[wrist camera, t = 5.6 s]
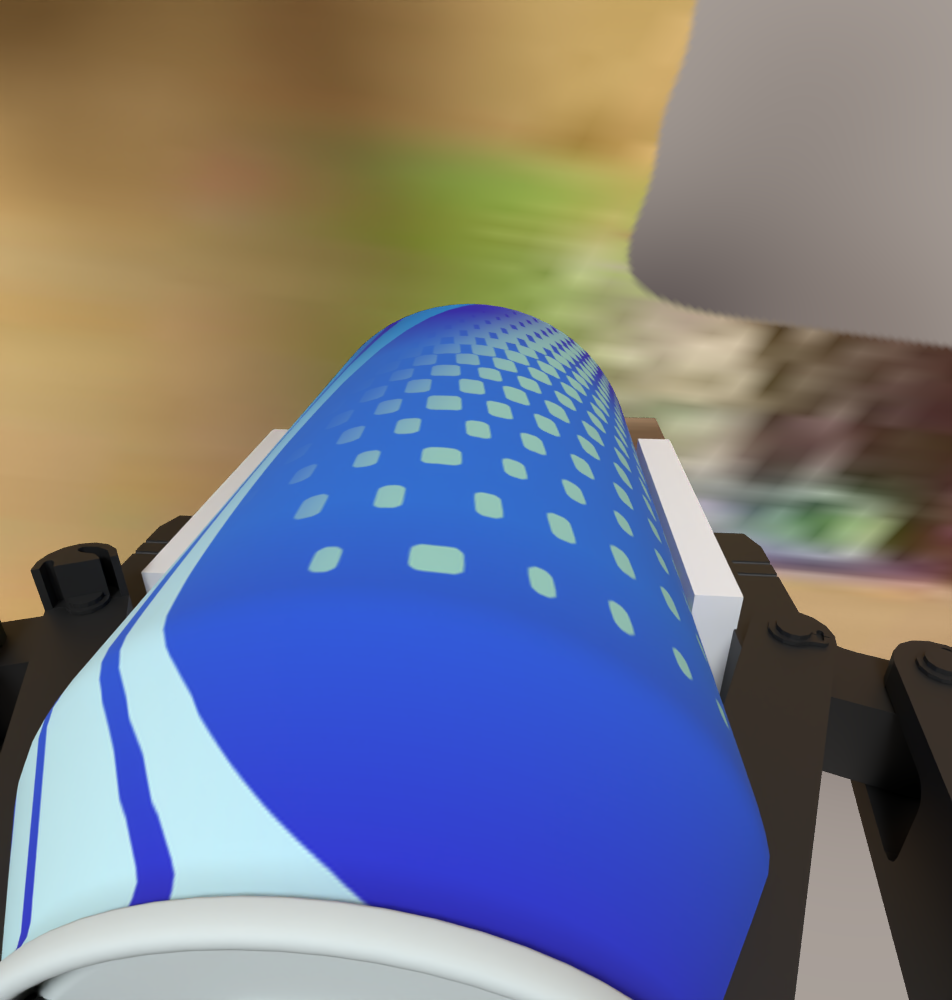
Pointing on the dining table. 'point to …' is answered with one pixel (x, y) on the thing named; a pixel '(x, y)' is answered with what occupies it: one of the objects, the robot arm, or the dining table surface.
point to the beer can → (401, 718)
